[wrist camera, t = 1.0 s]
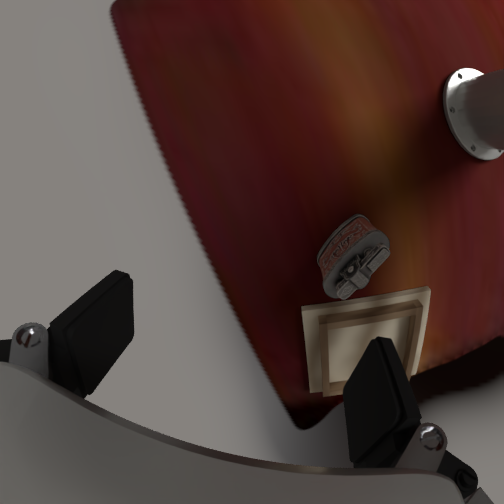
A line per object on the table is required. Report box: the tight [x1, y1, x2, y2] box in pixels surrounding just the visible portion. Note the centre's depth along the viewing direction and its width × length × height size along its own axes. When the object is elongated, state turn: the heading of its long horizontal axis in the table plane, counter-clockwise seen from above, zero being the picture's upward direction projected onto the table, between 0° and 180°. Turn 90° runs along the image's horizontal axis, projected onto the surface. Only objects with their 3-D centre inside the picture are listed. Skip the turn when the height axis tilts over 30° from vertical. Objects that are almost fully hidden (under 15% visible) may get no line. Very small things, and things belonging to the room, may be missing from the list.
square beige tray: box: [301, 286, 431, 397], centre depth 35 cm, size 18×16×3 cm
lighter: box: [317, 214, 390, 299], centre depth 27 cm, size 8×3×10 cm, turn 142°
